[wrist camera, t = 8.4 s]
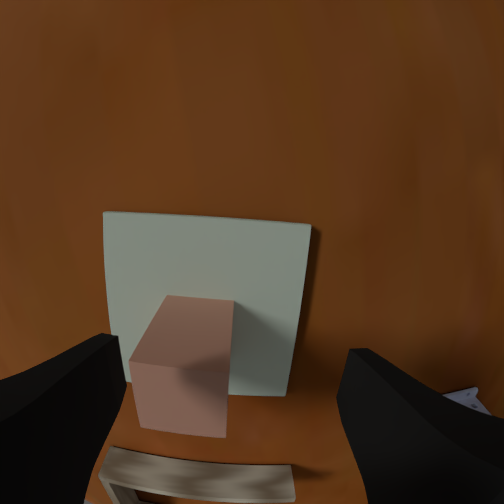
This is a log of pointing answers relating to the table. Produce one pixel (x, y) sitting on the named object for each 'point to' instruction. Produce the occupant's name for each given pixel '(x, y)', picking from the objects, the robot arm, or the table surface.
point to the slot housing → (193, 479)
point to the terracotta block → (184, 367)
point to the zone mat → (211, 284)
